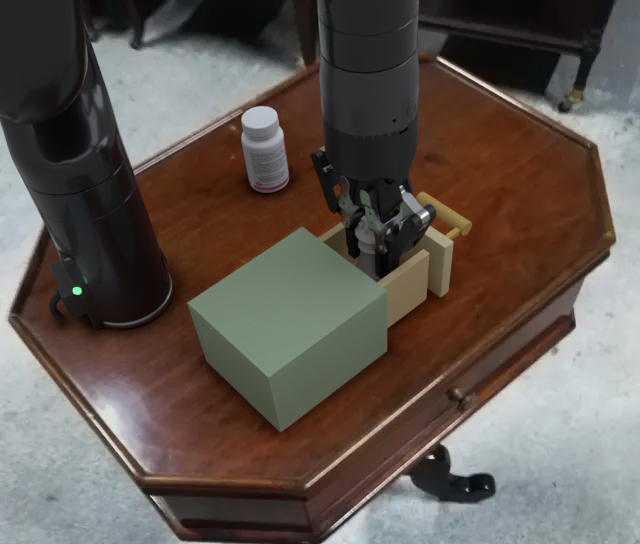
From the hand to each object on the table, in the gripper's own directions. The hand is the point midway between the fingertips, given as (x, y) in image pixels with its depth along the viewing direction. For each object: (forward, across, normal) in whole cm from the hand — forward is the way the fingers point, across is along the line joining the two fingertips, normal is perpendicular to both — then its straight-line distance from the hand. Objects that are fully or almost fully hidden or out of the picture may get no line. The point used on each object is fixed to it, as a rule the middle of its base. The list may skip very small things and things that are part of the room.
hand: (372, 262), depth 72 cm
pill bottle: (+5, -22, +4) cm, 23 cm away
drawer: (+4, 0, +2) cm, 5 cm away
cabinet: (+5, 0, -10) cm, 12 cm away
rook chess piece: (+3, 0, 0) cm, 3 cm away
